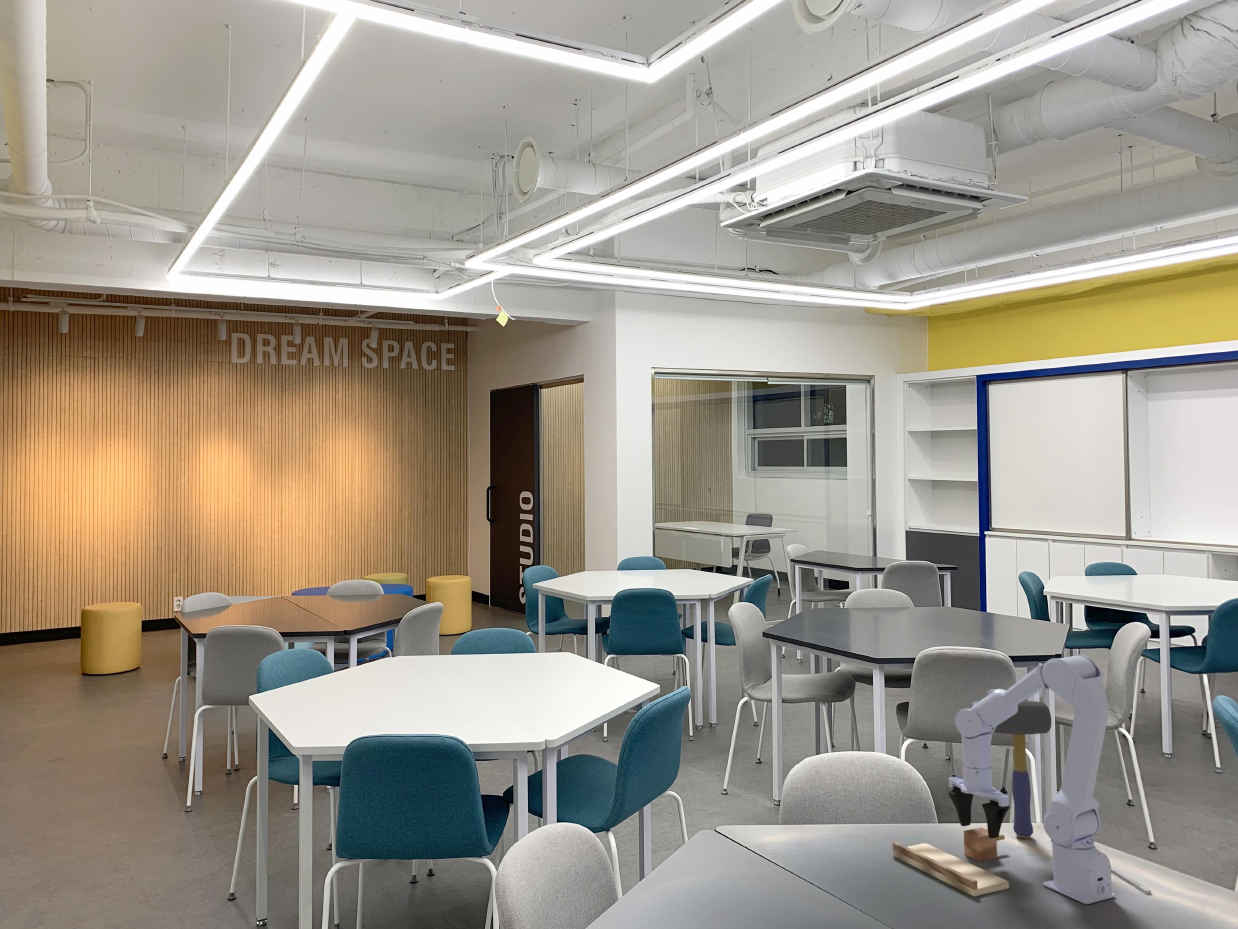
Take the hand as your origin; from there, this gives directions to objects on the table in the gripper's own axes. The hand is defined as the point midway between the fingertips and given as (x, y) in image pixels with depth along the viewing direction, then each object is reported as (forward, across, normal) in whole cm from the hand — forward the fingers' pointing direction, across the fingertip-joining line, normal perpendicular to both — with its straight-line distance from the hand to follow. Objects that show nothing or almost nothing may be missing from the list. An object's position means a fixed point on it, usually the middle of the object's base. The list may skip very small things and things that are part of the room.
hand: (979, 831), depth 179 cm
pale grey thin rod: (+6, +21, +16) cm, 27 cm away
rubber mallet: (+5, -4, +17) cm, 18 cm away
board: (+5, +3, -12) cm, 13 cm away
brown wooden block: (+5, 0, +2) cm, 5 cm away
